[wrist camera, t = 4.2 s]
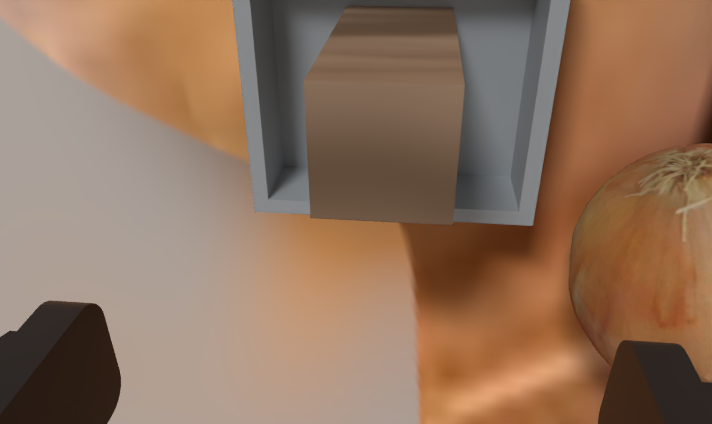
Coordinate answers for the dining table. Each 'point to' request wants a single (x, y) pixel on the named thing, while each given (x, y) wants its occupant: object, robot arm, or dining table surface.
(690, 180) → the onion
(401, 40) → the walnut block
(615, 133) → the dining table surface
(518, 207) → the grey tub
